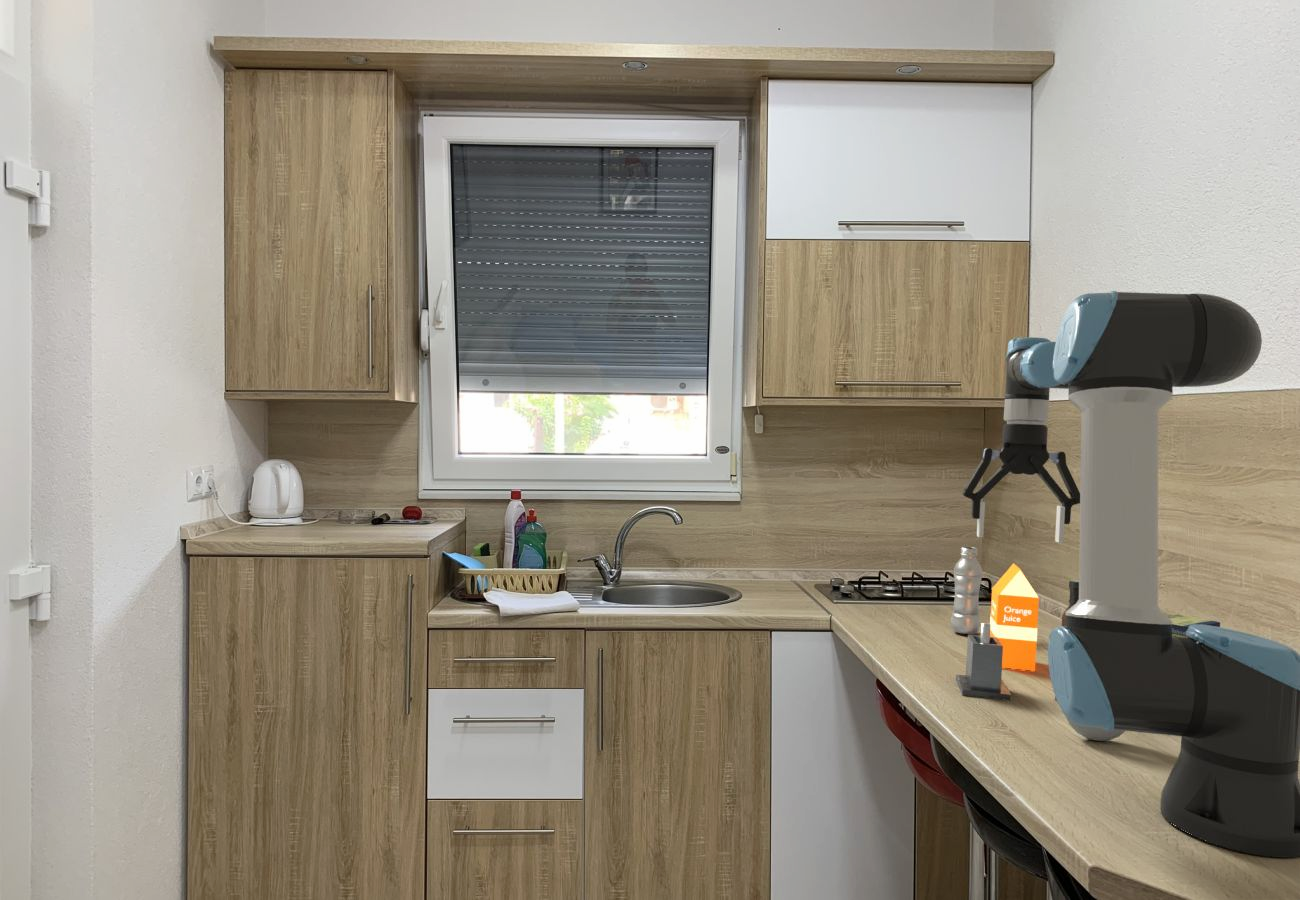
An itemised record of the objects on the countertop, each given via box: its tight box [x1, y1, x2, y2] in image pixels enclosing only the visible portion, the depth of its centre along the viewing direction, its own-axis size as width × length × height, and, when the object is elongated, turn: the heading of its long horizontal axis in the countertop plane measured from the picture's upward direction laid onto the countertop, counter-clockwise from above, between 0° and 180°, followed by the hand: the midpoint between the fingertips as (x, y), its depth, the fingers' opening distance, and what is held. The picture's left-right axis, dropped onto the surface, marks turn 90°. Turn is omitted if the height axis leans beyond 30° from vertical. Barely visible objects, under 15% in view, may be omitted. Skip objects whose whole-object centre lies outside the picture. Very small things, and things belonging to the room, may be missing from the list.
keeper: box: [955, 622, 1012, 701], centre depth 158 cm, size 10×8×12 cm
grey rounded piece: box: [1065, 716, 1126, 742], centre depth 134 cm, size 10×4×10 cm, turn 83°
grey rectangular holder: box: [965, 634, 1003, 691], centre depth 158 cm, size 7×5×8 cm
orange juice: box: [989, 562, 1040, 672], centre depth 177 cm, size 8×9×20 cm
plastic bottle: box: [950, 546, 983, 635], centre depth 203 cm, size 6×7×20 cm
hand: (1019, 539), depth 160 cm, fingers open, 13 cm apart
